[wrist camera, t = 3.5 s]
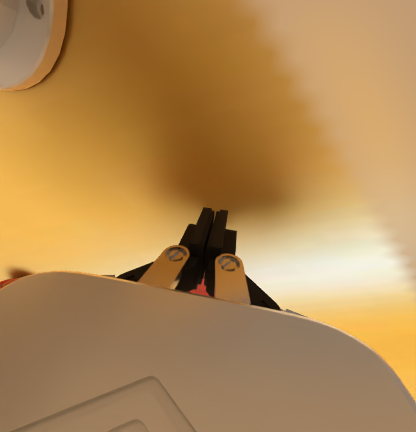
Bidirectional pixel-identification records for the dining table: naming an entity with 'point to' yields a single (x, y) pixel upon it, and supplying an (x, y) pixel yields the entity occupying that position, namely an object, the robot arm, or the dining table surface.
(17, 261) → the dining table surface
